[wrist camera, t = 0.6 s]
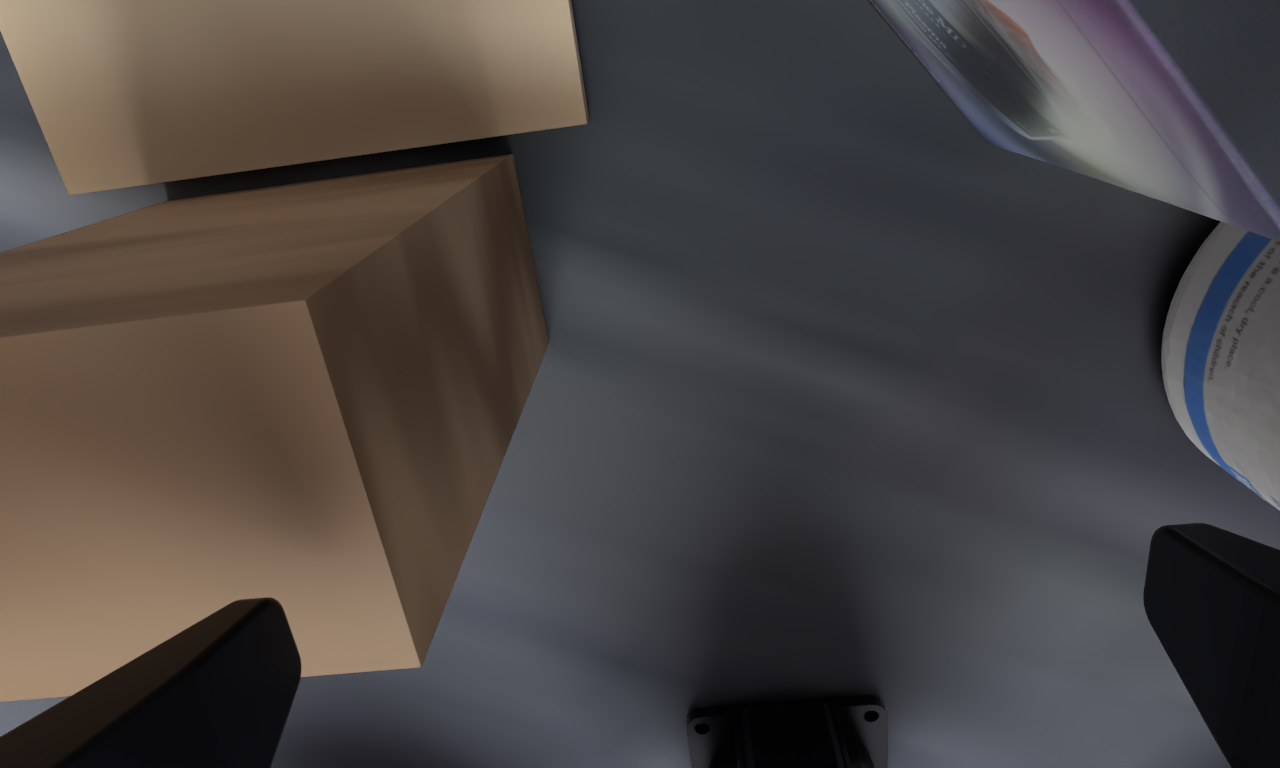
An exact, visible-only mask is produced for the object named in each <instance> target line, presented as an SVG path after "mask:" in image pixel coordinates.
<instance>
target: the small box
mask: <svg viewBox="0 0 1280 768" xmlns="http://www.w3.org/2000/svg"><path fill="white" fill-rule="evenodd" d="M868 2H869V3H870V4H871V5H872V7H873V8H874V9H875V10H876V11H877V13H878V14H879V15H880V16H881V17H882V19H883V20H884V21H885V22H886V23H887V24H888V26H889V27H890V28H891V29H892V30H893V32H894V33H895V34H896V35H897V36H898V38H899V39H900V40H901V41H902V42H903V44H904V45H905V46H906V47H907V48H908V50H909V51H910V52H911V53H912V54H913V55H914V57H915V58H916V59H917V60H918V61H919V63H920V64H921V65H922V66H923V67H924V69H925V70H926V71H927V72H928V74H929V75H930V76H931V77H932V78H933V80H934V81H935V82H936V83H937V85H938V86H939V87H940V88H941V89H942V91H943V92H944V93H945V94H946V95H947V97H948V98H949V99H950V100H951V101H952V103H953V104H954V105H955V106H956V107H957V108H958V110H959V111H960V112H961V113H962V114H963V115H964V117H965V118H966V119H967V120H968V121H969V123H970V124H971V125H972V126H973V127H974V128H975V130H976V131H977V132H978V133H979V135H980V136H981V137H982V138H983V140H984V141H986V142H987V143H989V144H992V145H994V146H997V147H1000V148H1003V149H1006V150H1009V151H1012V152H1015V153H1018V154H1021V155H1025V156H1028V157H1031V158H1034V159H1037V160H1041V161H1044V162H1047V163H1050V164H1053V165H1056V166H1059V167H1062V168H1065V169H1068V170H1070V171H1073V172H1076V173H1080V174H1083V175H1086V176H1089V177H1093V178H1096V179H1099V180H1101V181H1104V182H1107V183H1110V184H1113V185H1116V186H1118V187H1121V188H1124V189H1127V190H1130V191H1133V192H1136V193H1139V194H1142V195H1145V196H1148V197H1151V198H1154V199H1157V200H1160V201H1163V202H1167V203H1169V204H1172V205H1175V206H1178V207H1181V208H1183V209H1186V210H1189V211H1192V212H1195V213H1198V214H1201V215H1204V216H1207V217H1210V218H1212V219H1215V220H1218V221H1221V222H1224V223H1227V224H1230V225H1233V226H1236V227H1239V228H1242V229H1245V230H1248V231H1250V232H1253V233H1256V234H1259V235H1262V236H1265V237H1268V238H1271V239H1274V240H1278V241H1280V0H868Z"/></svg>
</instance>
